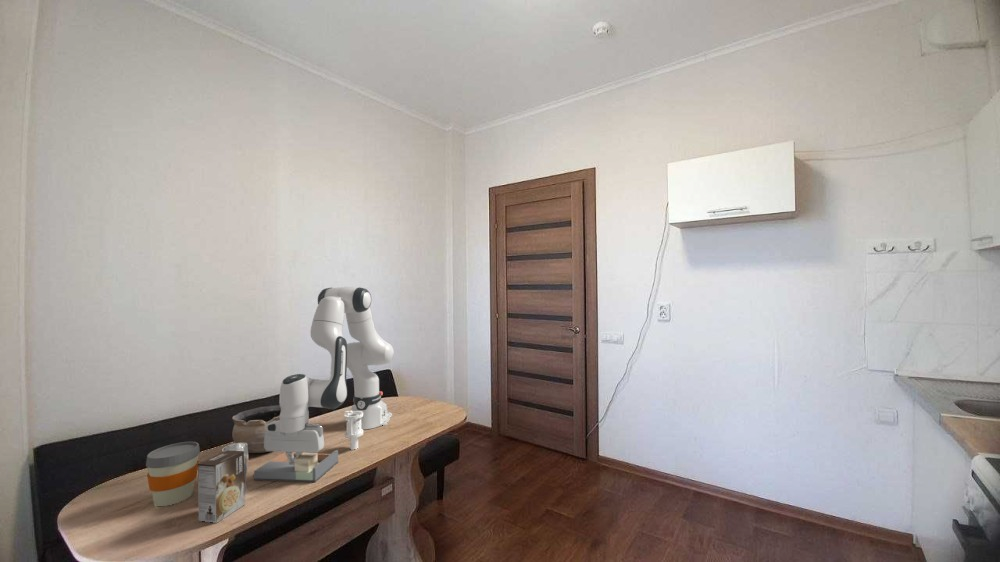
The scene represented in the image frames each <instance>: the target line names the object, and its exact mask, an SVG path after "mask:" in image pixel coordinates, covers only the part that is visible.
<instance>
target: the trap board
mask: <svg viewBox="0 0 1000 562" xmlns="http://www.w3.org/2000/svg"><path fill="white" fill-rule="evenodd" d="M303 453H304V452H303ZM303 453H302V454H303ZM292 454H293V456H294V457H296V456H297V455H295V452H292ZM338 463H339V450H338V449H335V450H334V451H332V452H331V453H318V464H317V465H316V466H315V467H314V468H313V469H312V470H310V471H309V472H298V471H295V465H294V464H289V459H288V458H287V456H286V452H281V453H280V454H279V455H277V456H275V457H274V458H272V459H271V460H269V461H267V462H266V463H264V464H263V465H262V466H260V467H259V468H257V469H255V470H253V477H254V478H253V480H254V481H271V482H273V481H274V482H298V483H299V482H302V483H317V481H319V480H320V479H321V478H323V476H324V475H327V474H326V472H327V473H328V472H330V470H331V469H333V468H334V467H333V466H334V465H335V466H336V465H337V464H338Z"/></svg>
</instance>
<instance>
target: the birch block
mask: <svg viewBox="0 0 1000 562" xmlns="http://www.w3.org/2000/svg"><path fill="white" fill-rule="evenodd" d="M318 454H319V452H317V453H310V452H303V454H302V455H300V456H299V457H297V458H296V459H295V471H298V472H309V471H310V470H312V469H313V468H314V467H315V466H316V465H317V464H318Z"/></svg>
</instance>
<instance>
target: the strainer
mask: <svg viewBox="0 0 1000 562" xmlns="http://www.w3.org/2000/svg"><path fill="white" fill-rule="evenodd" d="M353 414H356V416H351V415H353ZM359 414H360V415H359ZM361 417H363V412H362V411H351V410H345V411H344V417H343V418H344V421H346V431H345V432H344V437H345V438H347V439H349V441H350V442H349V445H350V447H349V450H350V449H351V450H350V451H355V450H354V449H356V450H358V449H359V437H362V436H363V435H364V429H361ZM353 419H354V420H353ZM357 448H358V449H357Z"/></svg>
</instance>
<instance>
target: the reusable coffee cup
mask: <svg viewBox="0 0 1000 562" xmlns="http://www.w3.org/2000/svg"><path fill="white" fill-rule="evenodd" d="M200 453H201V452H200V444H199V443H198V442H196V441H184V442H183V441H182V442H176V443H171V444H169V445H165V446H162V447H158V448H156V449H154V450H152V451H150V452H148V454H147V456H146V461H145V462H146V463H145V467H146V468H147V471H148V472H147V474H146V476H147V477H146V478H147V483H148V488H149V491H151V494H152V500H153V505H154V506H155V505H156V506H155V507H157V506H165V507H168V506H167V505H170V506H172V505H171V504H174V505H176V504H175V503H177V504H179V503H182V502H184V501H186V500H188V499H189V498H191V496H192V495H193V492H194V486H195V479H196V478H198V464H199V463H200V461H199V460H198V459H199V455H200ZM187 498H188V499H187ZM185 499H186V500H185ZM183 500H184V501H183ZM181 501H182V502H181ZM178 502H179V503H178Z"/></svg>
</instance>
